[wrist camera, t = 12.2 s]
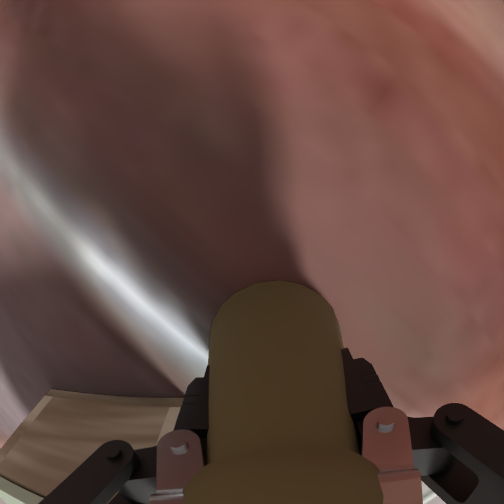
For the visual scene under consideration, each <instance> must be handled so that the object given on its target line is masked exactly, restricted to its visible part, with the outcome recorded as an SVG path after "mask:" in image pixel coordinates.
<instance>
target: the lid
mask: <svg viewBox="0 0 504 504" xmlns="http://www.w3.org/2000/svg"><path fill="white" fill-rule="evenodd" d="M0 497H1V498H2V499H3V500H4V501H5V502H6V503H7V504H38V503H39V502H41V501H42V500H43V499H44V498H42V497H40V496H38V495H36V494H34V493H31V492H29V491H27V490H25V489H23V488H21V487H19V486H17V485H15V484H13V483H11V482H9V481H8V480H6V479H4V478H2V477H0Z"/></svg>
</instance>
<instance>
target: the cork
mask: <svg viewBox="0 0 504 504" xmlns="http://www.w3.org/2000/svg"><path fill="white" fill-rule="evenodd" d="M343 348H344V347H343V342H342V337H341V331H340V326H339V323H338V321H337V318H336V316H335V313H334V310H333V308H332V307H331V306H330V305H329V304H328V303H327V302H326V300H325V299H324V298H323V297H322V296H321V295H320V294H319V293H317V292H315V291H313V290H311V289H309V288H307V287H306V286H304V285H302V284H298V283H292V282H286V281H281V280H277V281H269V282H260V283H255V284H253V285H251V286H249V287H246V288H244V289H242V290H239V291H237V292H236V293H235V294H233V295H232V296H231V297H230V298H229V299H228V300H227V301H225V302H224V303H223V304H222V305H221V307H220V308H219V310H218V312H217V314H216V316H215V317H214V319H213V321H212V326H211V332H210V339H209V359H208V365H210V371H209V430H208V433H207V458H206V466H205V467H203V468H201V469H200V470H199V471H198V472H197V473H196V474H195V475H194V476H193V477H192V478H191V479H190V480H189V481H188V482H187V484H186V485H185V487H184V488H183V490H182V491H184V492H183V501H182V504H383V498H384V495H383V492H382V489H381V486H380V483H379V480H378V472H380V470H379V469H378V468H377V466H376V465H375V464H374V463H372V462H371V461H369V460H368V459H366V458H364V457H363V456H361V455H360V451H359V443H358V436H357V431H356V427H355V425H354V422H353V420H352V418H351V415H350V411H349V408H348V404H347V397H346V386H345V377H344V368H343V360H342V354H341V349H343Z"/></svg>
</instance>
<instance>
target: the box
mask: <svg viewBox="0 0 504 504" xmlns="http://www.w3.org/2000/svg"><path fill="white" fill-rule="evenodd" d="M183 399H184V398H156V397H128V396H112V395H99V394H88V393H79V392H71V391H63V390H56V389H50V390H49V391H48V392H47V393H46V395H45V396H44V397H43V398H42V399H41V400H40V402H39V403H38V404H37V405H36V406H35V408H34V409H33V410H32V411H31V412H30V413H29V415H28V416H27V417H26V418H25V419H24V421H23V422H22V423H21V424H20V426H19V427H18V428H17V429H16V430H15V432H14V433H13V434H12V435H11V437H10V438H9V439H8V440H7V442H6V443H5V444H4V445H3V447H2V448H1V449H0V477H2V478H4V479H6V480H8V481H9V482H11V483H13V484H15V485H17V486H19V487H21V488H23V489H25V490H27V491H29V492H31V493H34V494H36V495H38V496H40V497H42V498H45V497H46V496H47V495H48V494H49V493H51V492H52V491H53V490H54V489H55V488H56V487H57V486H58V485H59V484H60V483H61V482H63V481H64V480H65V479H66V478H67V477H68V476H69V475H70V474H71V473H72V472H73V471H74V470H76V469H77V468H78V467H79V466H80V465H81V464H82V463H83V462H84V461H85V460H86V459H87V458H88V457H89V456H90V455H91V454H93V453H94V452H95V451H96V450H97V449H98V448H99V447H100V446H101V445H102V444H104V443H106V442H108V441H112V440H123V441H126V442H128V443H129V444H130V445H131V446H132V448H133V449H134V450H136V449H142V448H148V447H153V446H157V444H158V441H159V440H160V439H161V437H163V436H164V435H165V434H167V433H169V432H171V431H173V430H174V427H175V423H176V420H177V417H178V414H179V411H180V408H181V405H183V403H182V402H183ZM118 492H119V491H118ZM118 492H117V493H118ZM117 493H116V494H117ZM116 494H115V495H114V496H113V497H112V498H111V499H110V500H109V502H110V501H111V500H112V499H113V498H114V497H115V496H116ZM109 502H108V503H109ZM108 503H107V504H108Z"/></svg>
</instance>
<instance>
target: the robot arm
mask: <svg viewBox="0 0 504 504" xmlns="http://www.w3.org/2000/svg"><path fill="white" fill-rule="evenodd" d="M341 354H342V360H343V368H344V377H345V386H346V397H347V404H348V408H349V411H350V415H351V418H352V420H353V422H354V425H355V427H356V431H357V436H358V443H359V451H360V455H361V456H363V457H364V458H366V459H368V460H369V461H371V462H372V463H374V464H375V465H376V466H377V468H378V469H379V470H380V472H378V480H379V483H380V486H381V489H382V492H383V495H384V498H383V504H423V500H422V486H421V480H422V481H423V482H424V483H425V484H426V485H427V486H428V487H429V488H430V489H431V490H432V491H433V492H434V493H436V494H437V495H438V496H439V497H440V498H441V499H442V500H443V501H444V502H445V503H446V504H504V431H503V430H502V429H500V428H499V427H497V426H496V425H494V424H493V423H491V422H490V421H488V420H487V419H485V418H484V417H482V416H481V415H479V414H478V413H476V412H475V411H473V410H472V409H470V408H469V407H467V406H465V405H463V404H459V403H450V404H446V405H444V406H442V407H440V408H439V409H438V410H437V411H436V412H435V414H434V417H423V418H412V417H407V416H406V414H405V413H404V412H403V411H401V410H400V409H397V408H394V407H393V405H392V403H391V401H390V399H389V397H388V395H387V393H386V391H385V389H384V387H383V385H382V383H381V381H380V379H379V377H378V375H377V374H376V372H375V370H374V368H373V366H372V364H371V363H369V362H368V361H366V360H365V359H364V358H358V359H353V358H352V356H351V354H350V352H349V349H348V348H343V349H341ZM209 371H210V365H208V366H207V368H206V372H205V376H204V377H202V378H195V379H194V380H193V381H192V382H191V383H190V384H189V385H188V387H187V390H186V393H185V397H184V399H183V402H182V403H183V405H181V408H180V411H179V414H178V417H177V420H176V423H175V427H174V430H173V431H171V432H169V433H167V434H165V435H164V436H163V437H161V439H160V440H159V441H158V444H157V446H153V447H148V448H142V449H136V450H134V449H133V448H132V446H131V445H130V444H129V443H128V442H126V441H123V440H112V441H108V442H106V443H104V444H102V445H101V446H100V447H99V448H98V449H97V450H96V451H95V452H94V453H93V454H91V455H90V456H89V457H88V458H87V459H86V460H85V461H84V462H83V463H82V464H81V465H80V466H79V467H78V468H77V469H76V470H74V471H73V472H72V473H71V474H70V475H69V476H68V477H67V478H66V479H65V480H64V481H63V482H61V483H60V484H59V485H58V486H57V487H56V488H55V489H54V490H53V491H52V492H51V493H49V494H48V495H47V496H46V497H45V498H44V499H43V500H42V501H41V502H39V503H38V504H107V503H108V502H109V500H110V499H111V498H112V497H113V496H114V495H115V494H116V493H117V492H118V491H119V492H118V493H117V494H116V496H115V497H114V498H113V499H112V500H111V501H110V502H109V503H108V504H182V501H183V492H184V491H182V490H183V488H184V487H185V485H186V484H187V482H188V481H189V480H190V479H191V478H192V477H193V476H194V475H195V474H196V473H197V472H198V471H199V470H200V469H201V468H203V467H205V466H206V458H207V433H208V430H209Z"/></svg>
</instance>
